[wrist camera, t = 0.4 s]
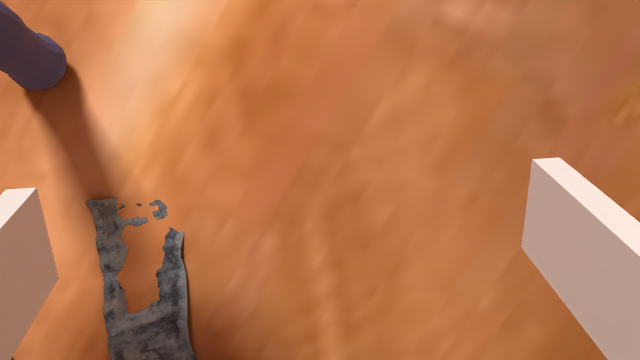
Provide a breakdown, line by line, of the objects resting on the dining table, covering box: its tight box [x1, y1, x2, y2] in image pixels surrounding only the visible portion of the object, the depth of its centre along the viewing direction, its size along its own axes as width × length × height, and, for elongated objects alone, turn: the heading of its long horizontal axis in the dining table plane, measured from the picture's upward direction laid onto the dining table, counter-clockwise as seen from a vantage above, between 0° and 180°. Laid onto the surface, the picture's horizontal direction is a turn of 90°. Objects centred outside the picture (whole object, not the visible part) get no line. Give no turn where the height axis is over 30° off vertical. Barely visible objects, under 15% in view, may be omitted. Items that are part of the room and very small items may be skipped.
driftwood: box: [86, 197, 196, 360], centre depth 44 cm, size 21×7×2 cm, turn 6°
